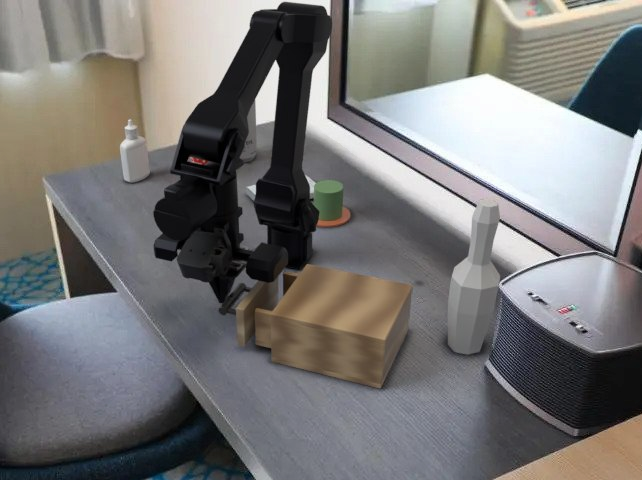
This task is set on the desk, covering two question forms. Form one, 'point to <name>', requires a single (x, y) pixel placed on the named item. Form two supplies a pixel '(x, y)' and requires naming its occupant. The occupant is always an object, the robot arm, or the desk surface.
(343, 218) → the coaster
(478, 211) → the low poly bottle
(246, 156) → the energy drink can
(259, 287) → the drawer
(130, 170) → the eye dropper bottle
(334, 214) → the can
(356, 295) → the cabinet
